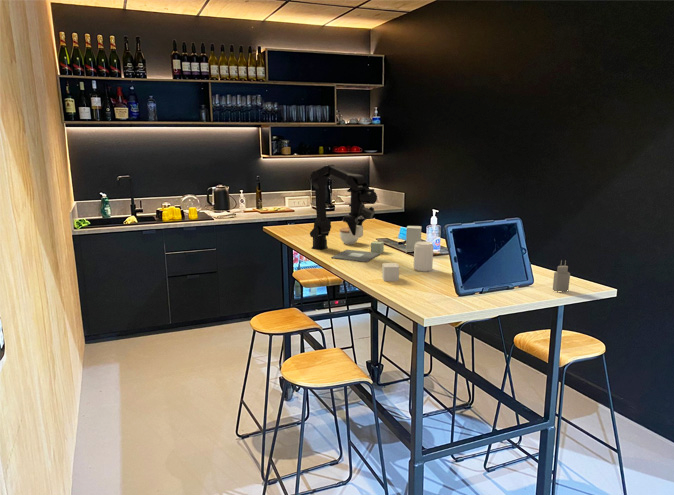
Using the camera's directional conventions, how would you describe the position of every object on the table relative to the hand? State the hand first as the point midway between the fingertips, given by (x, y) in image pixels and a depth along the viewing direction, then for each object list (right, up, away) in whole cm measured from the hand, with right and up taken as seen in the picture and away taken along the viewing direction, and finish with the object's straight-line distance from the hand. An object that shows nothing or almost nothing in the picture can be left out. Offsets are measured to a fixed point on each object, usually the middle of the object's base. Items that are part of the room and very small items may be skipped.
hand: (356, 234), depth 242 cm
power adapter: (+76, -23, -50) cm, 94 cm away
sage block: (+11, -9, +11) cm, 18 cm away
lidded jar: (-2, -4, +32) cm, 32 cm away
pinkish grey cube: (+13, -19, -36) cm, 43 cm away
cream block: (0, -1, 0) cm, 1 cm away
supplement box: (+29, -9, +13) cm, 33 cm away
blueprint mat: (0, -11, +2) cm, 11 cm away
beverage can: (+28, -16, -21) cm, 39 cm away
